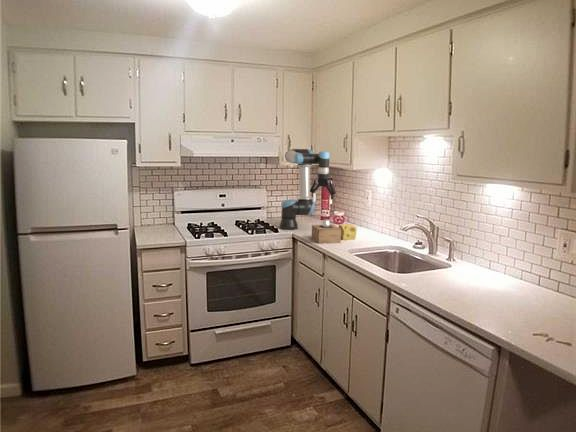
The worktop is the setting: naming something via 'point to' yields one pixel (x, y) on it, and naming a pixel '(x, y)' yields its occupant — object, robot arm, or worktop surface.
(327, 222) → the peg
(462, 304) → the worktop surface
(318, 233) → the socket block
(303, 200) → the robot arm
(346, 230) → the cheese
